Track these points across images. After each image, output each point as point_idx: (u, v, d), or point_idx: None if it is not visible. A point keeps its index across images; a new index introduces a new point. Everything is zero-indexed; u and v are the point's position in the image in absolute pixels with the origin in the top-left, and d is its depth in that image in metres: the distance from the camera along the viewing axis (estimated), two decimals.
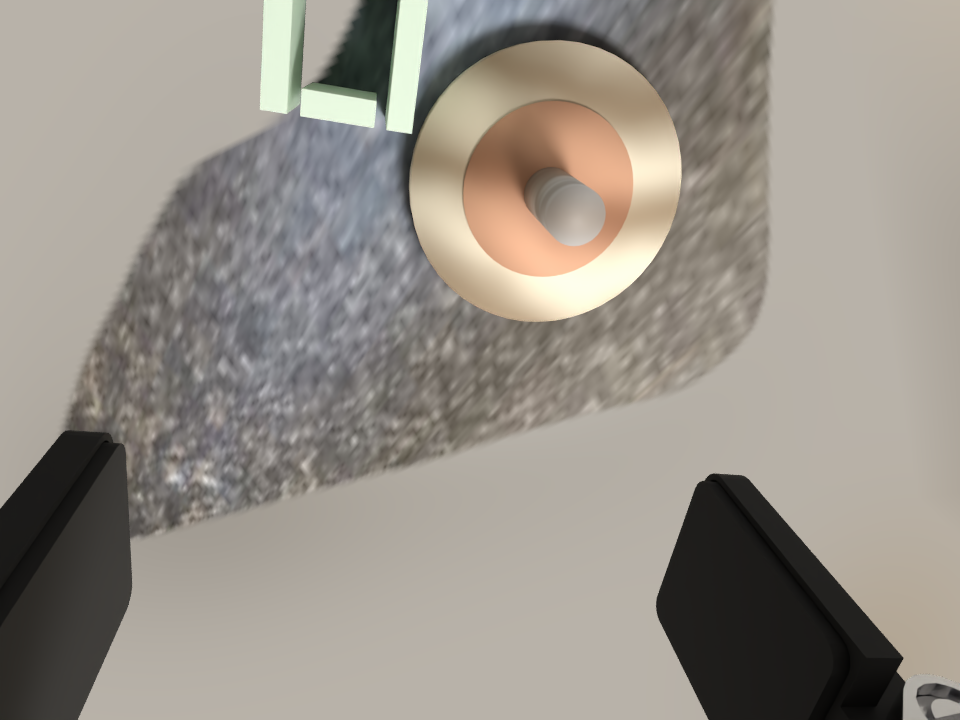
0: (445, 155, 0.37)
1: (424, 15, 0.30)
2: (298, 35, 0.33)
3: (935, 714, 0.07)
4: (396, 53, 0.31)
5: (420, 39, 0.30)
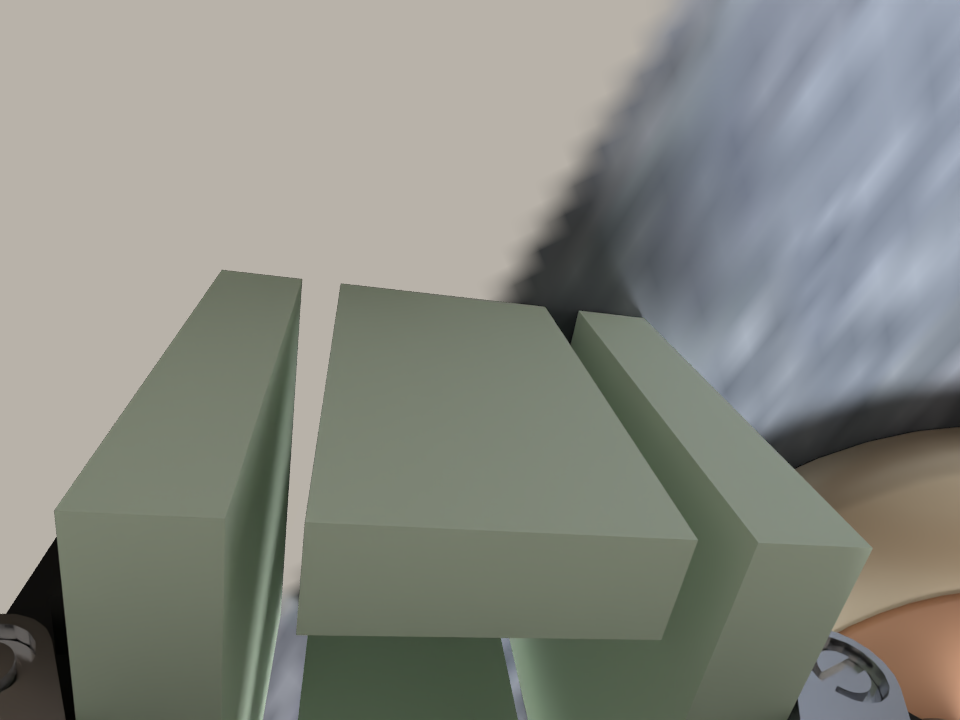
0: None
1: (796, 691, 0.07)
2: (267, 583, 0.10)
3: (821, 668, 0.08)
4: None
5: None
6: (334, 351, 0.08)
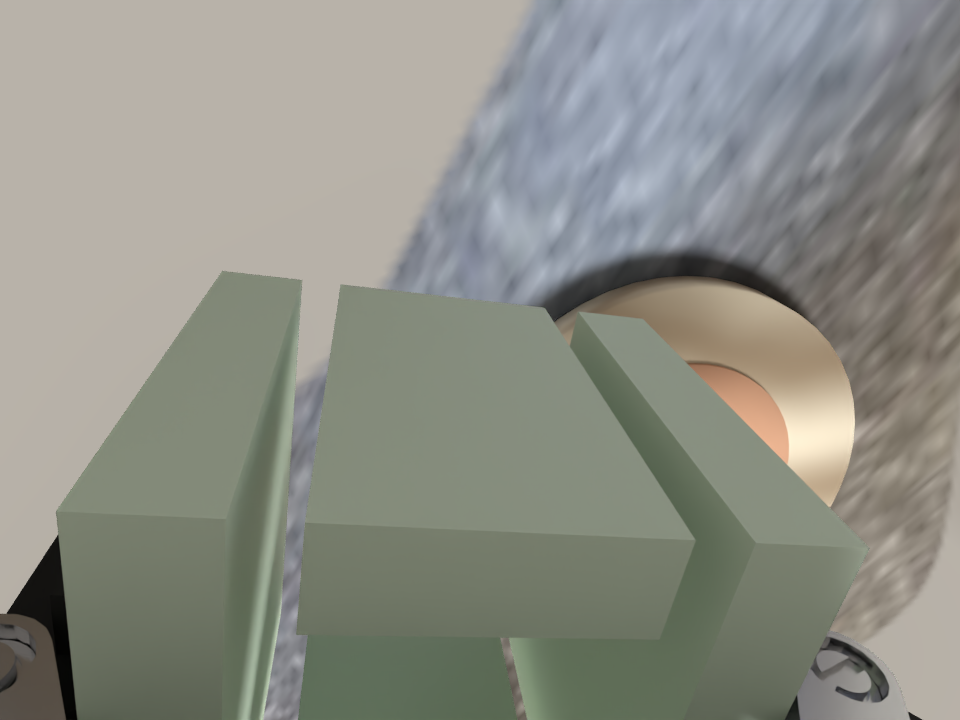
0: None
1: (794, 691, 0.07)
2: (267, 583, 0.10)
3: (821, 668, 0.08)
4: None
5: None
6: (334, 352, 0.08)
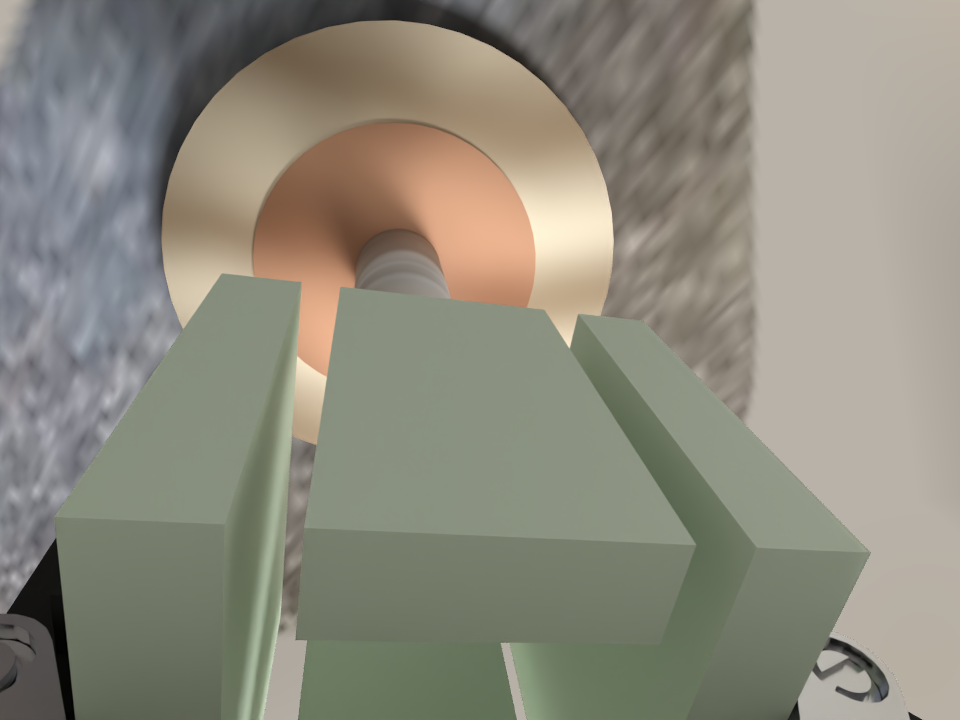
0: (216, 212, 0.23)
1: (795, 695, 0.07)
2: (266, 586, 0.10)
3: (821, 668, 0.08)
4: None
5: None
6: (333, 355, 0.08)
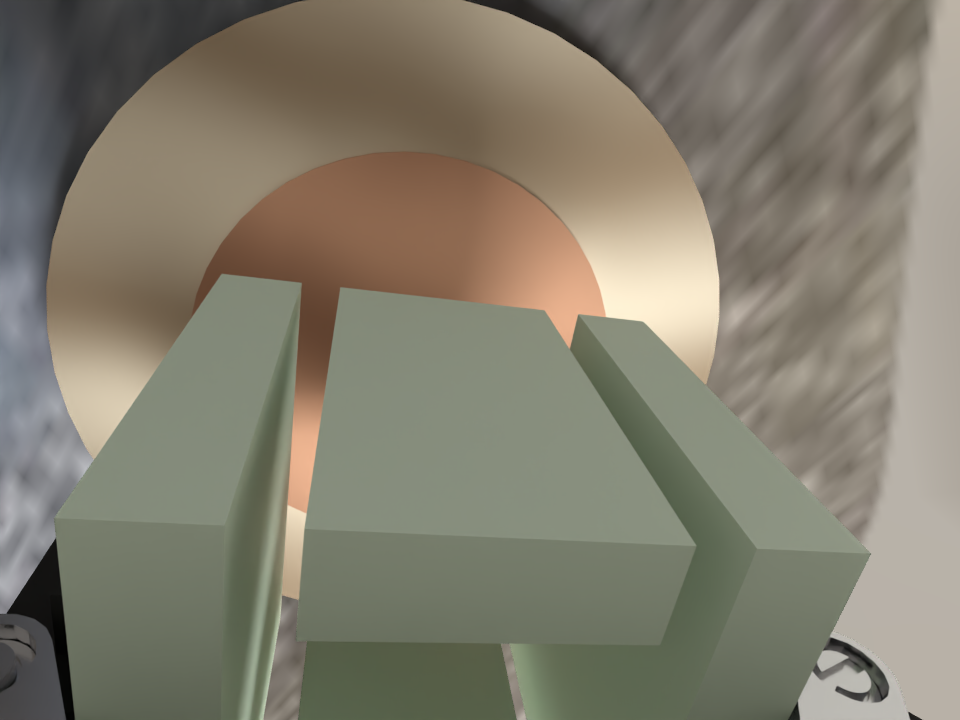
0: (130, 287, 0.15)
1: (795, 696, 0.07)
2: (266, 587, 0.10)
3: (821, 667, 0.08)
4: None
5: None
6: (333, 356, 0.08)
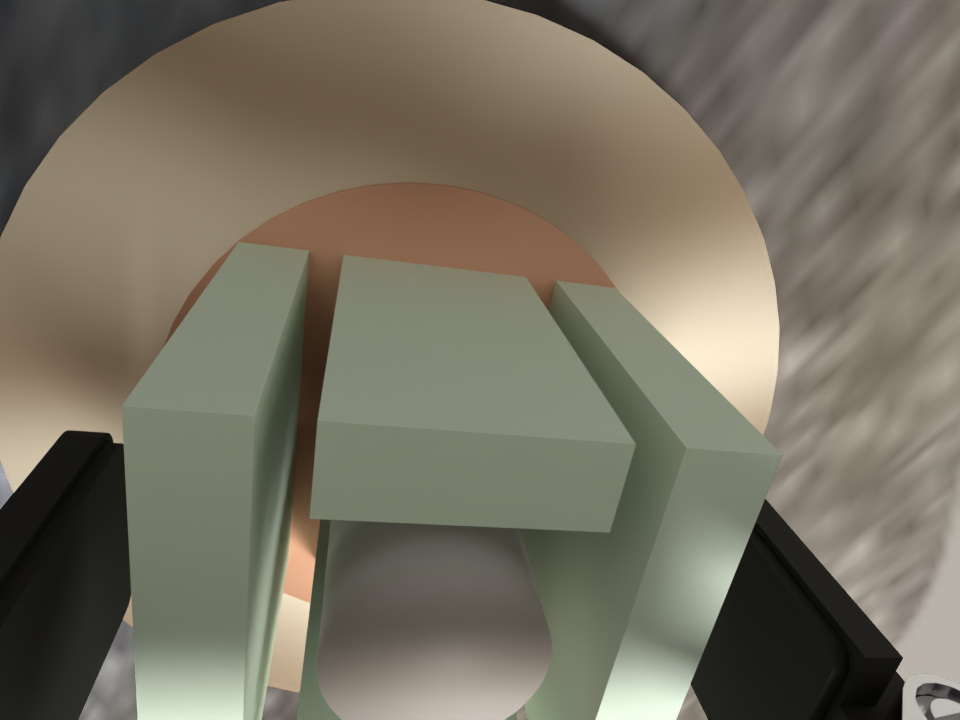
0: (82, 345, 0.12)
1: (726, 583, 0.08)
2: (279, 514, 0.11)
3: (935, 714, 0.07)
4: (613, 683, 0.09)
5: (699, 641, 0.09)
6: (338, 305, 0.10)
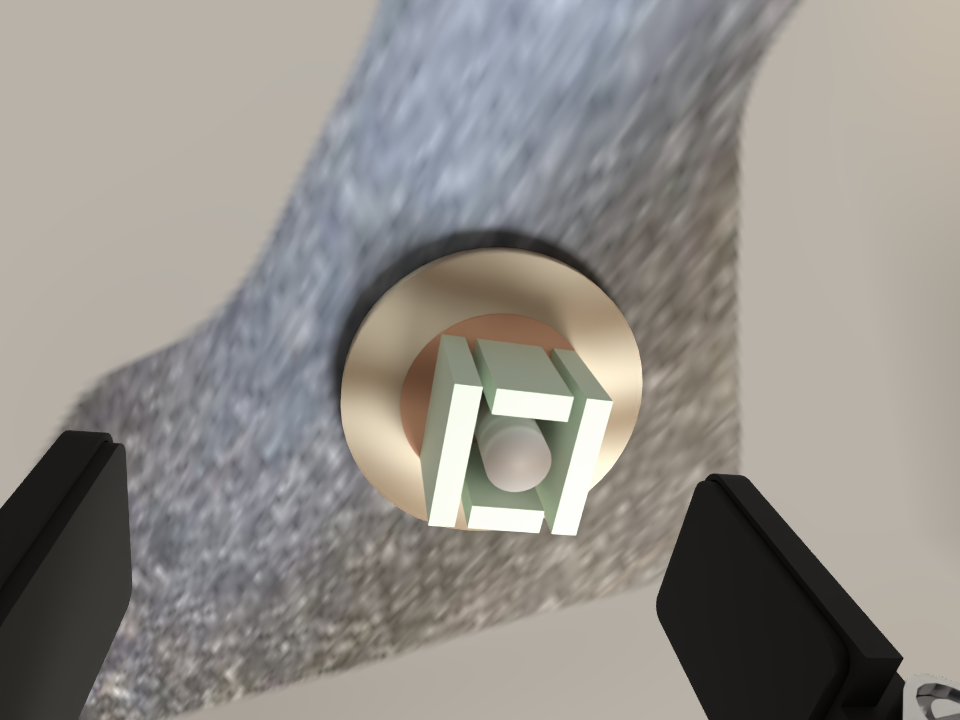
0: (379, 369, 0.34)
1: (601, 439, 0.30)
2: None
3: (935, 714, 0.07)
4: (569, 471, 0.30)
5: (594, 458, 0.30)
6: (485, 358, 0.31)
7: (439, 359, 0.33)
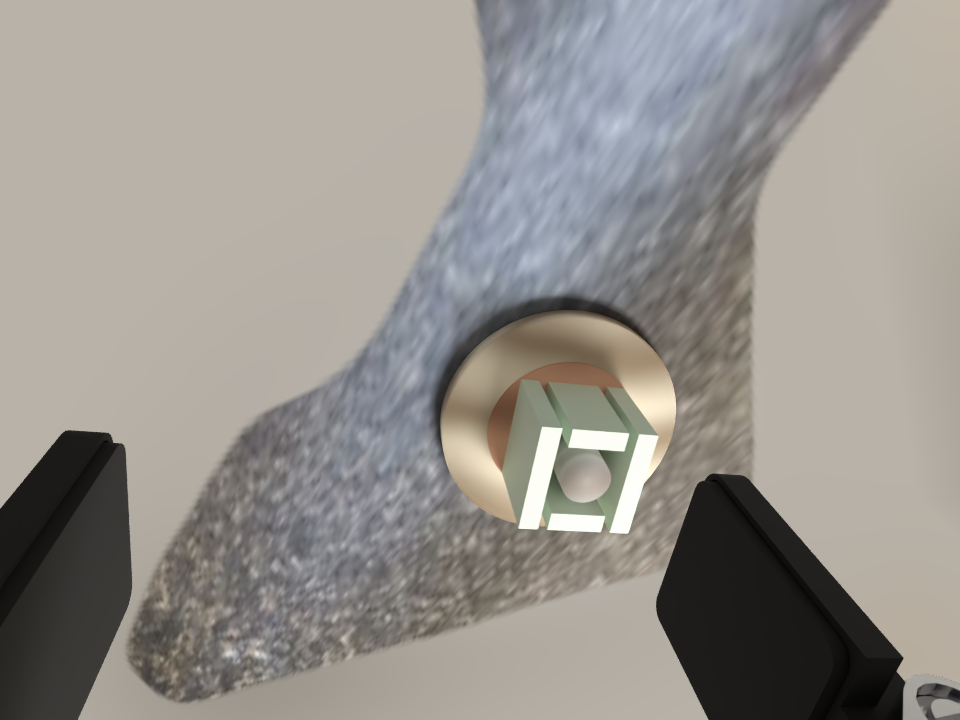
0: (472, 406, 0.43)
1: (648, 463, 0.39)
2: None
3: (935, 714, 0.07)
4: (624, 487, 0.40)
5: (643, 477, 0.40)
6: (559, 401, 0.41)
7: (520, 399, 0.42)
